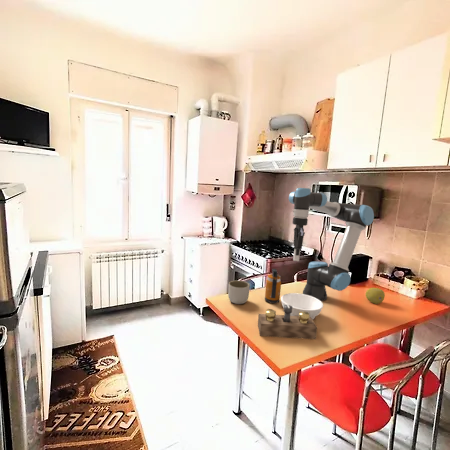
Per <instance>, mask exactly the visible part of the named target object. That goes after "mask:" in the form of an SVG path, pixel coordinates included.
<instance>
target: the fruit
mask: <svg viewBox="0 0 450 450" xmlns="http://www.w3.org/2000/svg"><path fill="white" fill-rule="evenodd" d="M365 297H366V299H367V301H369V302H370V303H372V304H375V305H379V304H382V303H383V301H384V300H385V292H384V290H383V289H381V288H379V287H370V288H368V289H367V290H366V291H365Z"/></svg>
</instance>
